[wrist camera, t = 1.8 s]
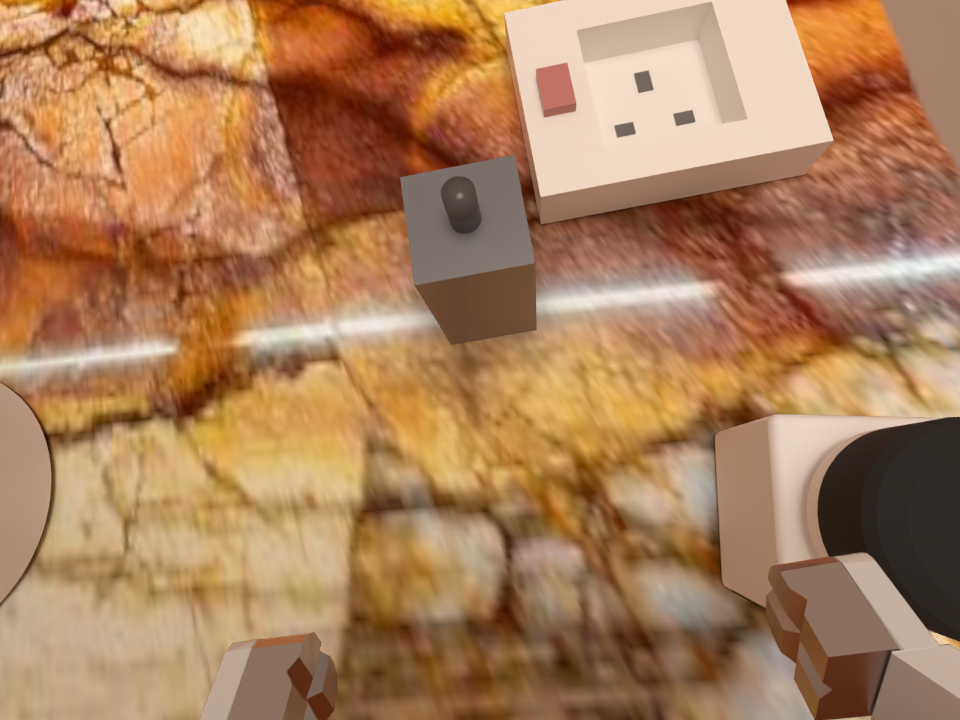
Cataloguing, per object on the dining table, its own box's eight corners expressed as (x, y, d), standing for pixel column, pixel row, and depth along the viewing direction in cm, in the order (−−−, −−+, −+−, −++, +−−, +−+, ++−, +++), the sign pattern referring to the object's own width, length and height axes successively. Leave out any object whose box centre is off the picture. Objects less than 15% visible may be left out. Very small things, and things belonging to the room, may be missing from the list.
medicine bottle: (719, 588, 26) (869, 672, 14) (711, 431, 27) (840, 390, 16) (887, 597, 25) (1192, 694, 13) (869, 435, 26) (1128, 395, 15)
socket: (540, 224, 30) (540, 190, 27) (507, 54, 33) (503, 3, 30) (804, 174, 30) (840, 132, 26) (749, 4, 32) (775, -55, 29)
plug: (451, 344, 30) (401, 264, 19) (439, 265, 31) (386, 147, 20) (536, 329, 29) (534, 239, 19) (521, 250, 30) (511, 122, 20)
